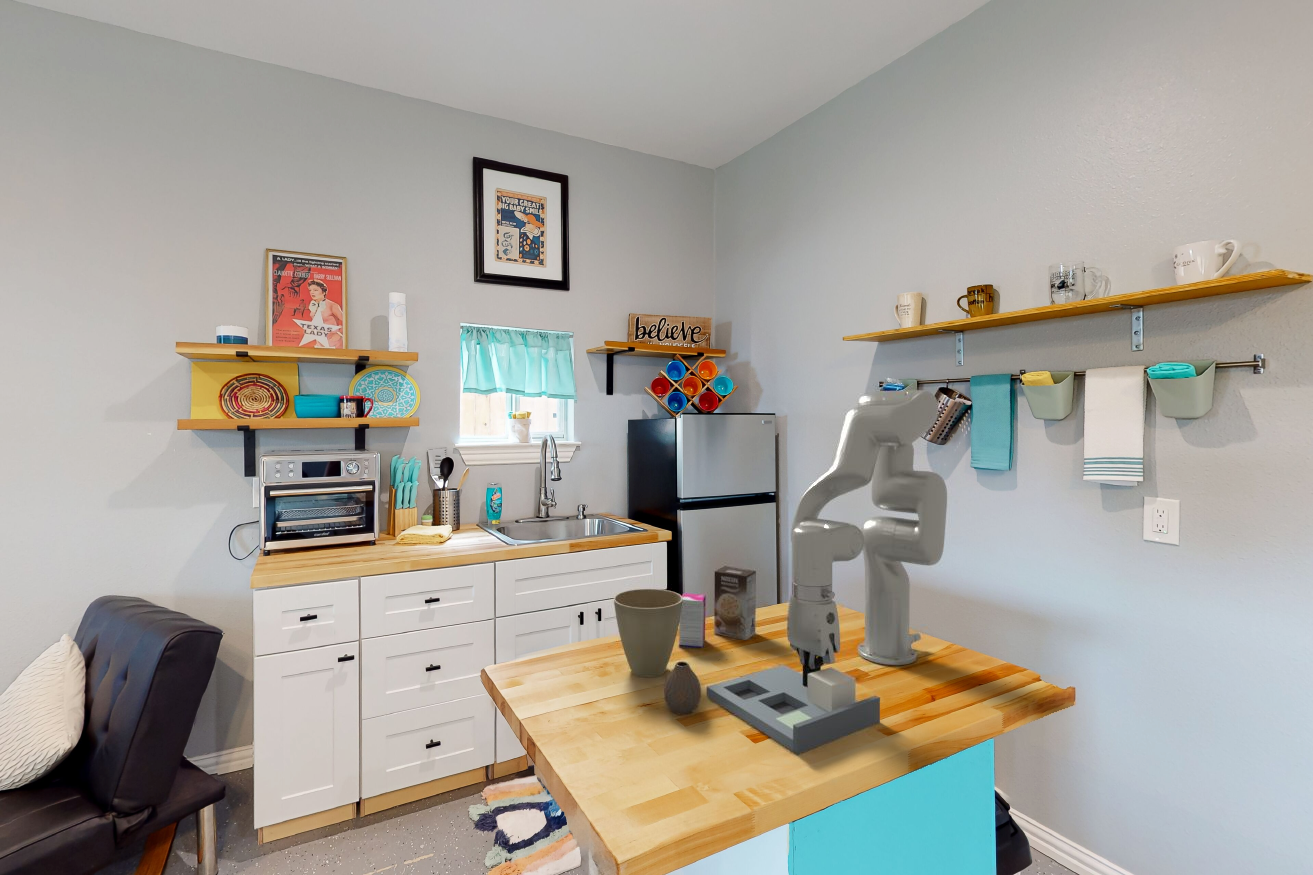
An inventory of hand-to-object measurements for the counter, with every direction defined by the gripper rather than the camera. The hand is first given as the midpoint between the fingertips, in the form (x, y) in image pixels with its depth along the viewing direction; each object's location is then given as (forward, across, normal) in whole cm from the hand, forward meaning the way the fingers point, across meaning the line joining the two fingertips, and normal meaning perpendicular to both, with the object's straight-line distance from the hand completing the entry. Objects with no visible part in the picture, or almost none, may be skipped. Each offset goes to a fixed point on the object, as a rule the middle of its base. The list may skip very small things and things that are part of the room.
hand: (811, 685), depth 121 cm
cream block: (+1, -6, +1) cm, 6 cm away
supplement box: (+3, +37, +2) cm, 38 cm away
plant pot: (+3, +29, +19) cm, 35 cm away
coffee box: (+3, +38, -11) cm, 39 cm away
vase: (+3, +10, +23) cm, 25 cm away
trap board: (+3, 0, +6) cm, 7 cm away
